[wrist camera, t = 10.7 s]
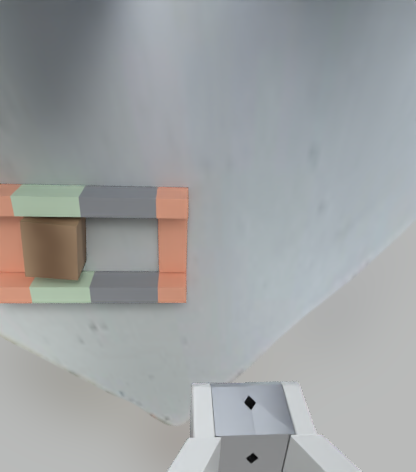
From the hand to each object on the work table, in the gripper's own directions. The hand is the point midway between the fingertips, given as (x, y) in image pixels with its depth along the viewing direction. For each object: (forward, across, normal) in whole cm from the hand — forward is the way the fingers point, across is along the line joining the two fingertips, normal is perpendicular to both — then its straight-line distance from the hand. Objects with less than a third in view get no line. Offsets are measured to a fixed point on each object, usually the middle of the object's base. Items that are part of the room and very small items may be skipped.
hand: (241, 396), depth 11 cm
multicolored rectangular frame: (+29, +11, +11) cm, 33 cm away
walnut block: (+29, +14, +10) cm, 34 cm away
